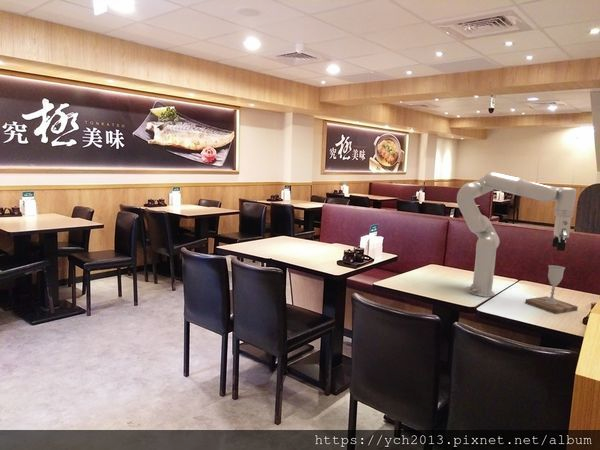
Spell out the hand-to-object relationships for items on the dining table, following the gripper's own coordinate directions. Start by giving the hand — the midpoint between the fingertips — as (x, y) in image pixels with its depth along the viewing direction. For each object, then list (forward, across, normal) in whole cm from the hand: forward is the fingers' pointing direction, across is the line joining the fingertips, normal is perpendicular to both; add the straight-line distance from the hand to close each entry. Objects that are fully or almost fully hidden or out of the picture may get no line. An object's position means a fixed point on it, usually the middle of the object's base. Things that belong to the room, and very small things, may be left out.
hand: (558, 248), depth 205 cm
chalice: (+27, 0, -1) cm, 27 cm away
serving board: (+29, 0, -1) cm, 29 cm away
